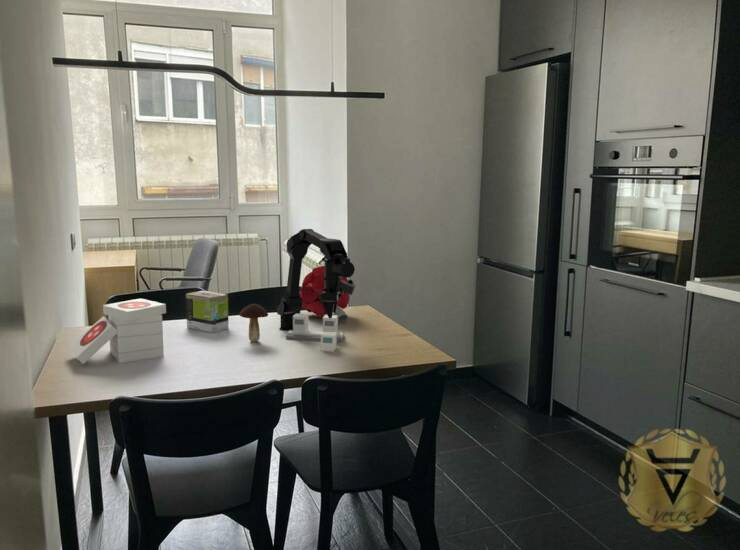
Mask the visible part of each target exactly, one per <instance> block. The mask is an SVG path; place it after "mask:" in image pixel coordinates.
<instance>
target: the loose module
mask: <svg viewBox="0 0 740 550" xmlns="http://www.w3.org/2000/svg"><path fill="white" fill-rule="evenodd" d="M322 332H323V331H322ZM337 343H338V342H337V332H323V333H322V334H321V341H320V352H335V351H336V349H337ZM334 350H335V351H334Z"/></svg>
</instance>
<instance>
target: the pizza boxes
mask: <svg viewBox="0 0 740 550" xmlns="http://www.w3.org/2000/svg"><path fill="white" fill-rule="evenodd" d="M166 305H167V304H166V303H163V302H162V303H161V302H158V301H154V300H149V299H146V298H136V299H129V300H125V301H118V302H113V303H112V302H111V303H108V304H102V309H103V310H102V311H103V316H102V317H100V318H99V319H98V320H97V321H96V322H95V323H94V324H93V325H91V326H90V327H89V328H88V329H87V330H86V331H85V332H83V334H81V336H79V337H78V338H77V339H76V340H75V341H74V342H73V343H71V344H70V345H69V349H70V350H71V352H72V353H73V355H74V357H75V359H77V360H78V361H79V362H80V363H81V364H83V365H84V364H85V363H87V361H88V360H90V359H91V358H92V357H93V356H94V355H95V354H96V353H97V352H98V351H99V350H100V349H102V348H103V347H104V346H105V345H106V344H107V343H108V342H109V352H110V353H111V354H112V356H113V357H114V358H115V360H116V361H117V362H118V364H120V363H121V364H122V363H128V362H133V361H134V362H135V361H141V360H146V359H147V360H148V359H153V358H154V359H155V358H161V357H164V355H165V353H164V352H165V351H164V335H163V333H164V332H163V331H164V330H163V329H164V328H163V314H167V306H166ZM104 315H106V316H108V317H107V318H108V319H107V318H106V317H105V316H104Z"/></svg>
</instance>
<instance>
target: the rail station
mask: <svg viewBox="0 0 740 550" xmlns="http://www.w3.org/2000/svg"><path fill="white" fill-rule="evenodd" d="M338 324H339V323H338V315H334V314H332V318H329V317H328V315H327V314H326V315H324V316H323V317H322V331H313V330H311V331H309V313H301V312H300V313H296V314H295V315H294V316H293V330H287V334H286V335H285V339H286V340H294V339H297V340H298V341H299V340H300V341H313V342H314V341H315V342H316V341H317V342H321V334H322V333H323V332H337V343H341V342H342V341H343V340H344V338H345V333H344V332H339V331H338V330H339V328H338V327H339V325H338ZM342 339H343V340H342Z"/></svg>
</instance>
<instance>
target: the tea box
mask: <svg viewBox="0 0 740 550" xmlns="http://www.w3.org/2000/svg"><path fill="white" fill-rule="evenodd" d="M228 295H229V294H228V293H223V292H222V293H221V292H216V291H215V292H214V291H209V290H199V291H192V292H188V293H186V294H185V306H186V307H185V310H186V311H185V312H186V313H185V314H186V328H189V329H193V330H198V331H202V332H208V333H212V334H213V333H216V332H219V331H220V332H221V331H225V330H226V329H229V296H228Z"/></svg>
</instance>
